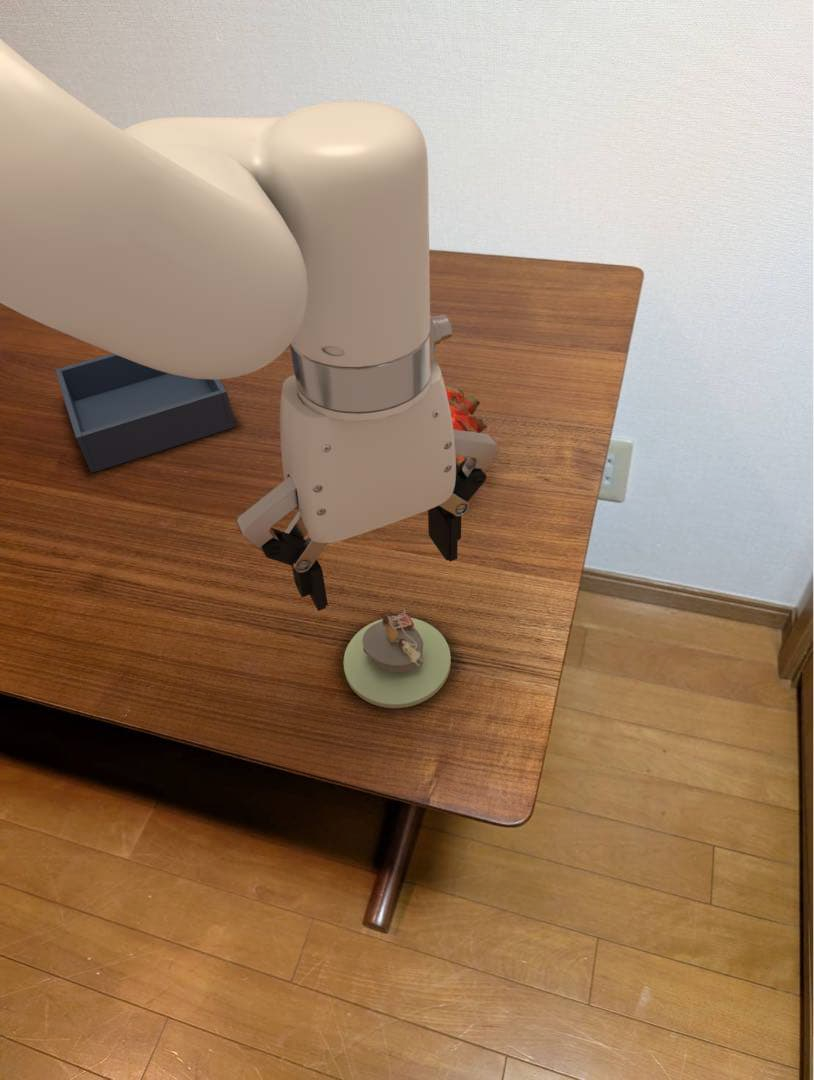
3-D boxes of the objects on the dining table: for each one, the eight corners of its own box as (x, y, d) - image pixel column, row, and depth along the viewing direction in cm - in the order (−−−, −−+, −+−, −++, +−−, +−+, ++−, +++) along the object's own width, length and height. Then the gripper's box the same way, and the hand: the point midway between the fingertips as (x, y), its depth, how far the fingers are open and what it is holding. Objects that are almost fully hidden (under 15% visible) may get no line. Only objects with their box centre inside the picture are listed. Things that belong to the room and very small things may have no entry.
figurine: (352, 659, 65) (344, 610, 61) (389, 624, 67) (384, 574, 63) (404, 694, 63) (399, 646, 58) (440, 656, 65) (438, 607, 61)
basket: (91, 473, 84) (75, 437, 80) (69, 404, 92) (54, 369, 89) (235, 427, 88) (226, 391, 84) (202, 365, 96) (192, 330, 93)
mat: (369, 725, 62) (369, 721, 61) (328, 644, 67) (327, 640, 67) (469, 681, 64) (469, 677, 63) (421, 606, 69) (421, 602, 69)
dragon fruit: (438, 435, 87) (463, 524, 80) (370, 411, 83) (391, 504, 76) (488, 379, 82) (520, 470, 75) (419, 350, 77) (446, 444, 70)
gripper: (469, 289, 50) (465, 499, 62) (189, 366, 45) (244, 577, 57) (535, 350, 45) (516, 564, 57) (229, 443, 40) (279, 656, 53)
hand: (380, 571), depth 57 cm, fingers open, 9 cm apart
